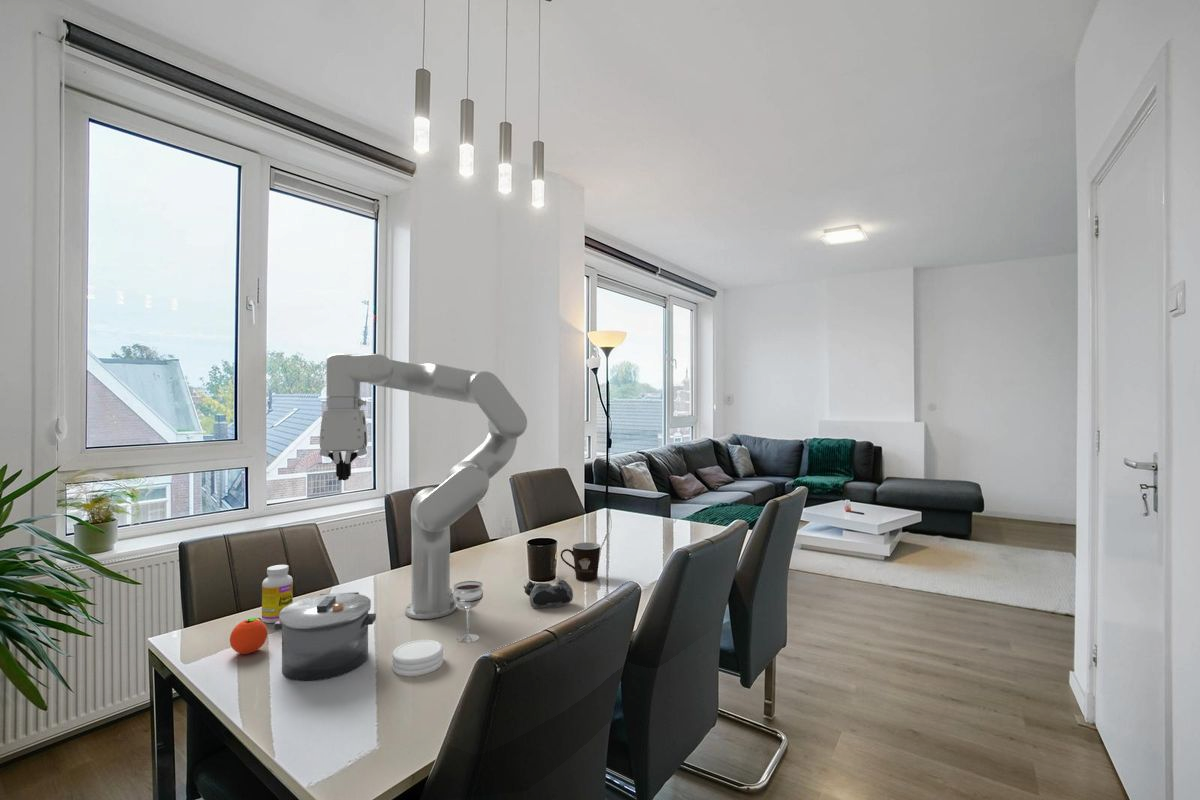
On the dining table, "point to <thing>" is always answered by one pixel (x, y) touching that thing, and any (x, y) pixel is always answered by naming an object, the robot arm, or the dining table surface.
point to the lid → (325, 610)
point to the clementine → (248, 636)
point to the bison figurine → (549, 594)
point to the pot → (324, 649)
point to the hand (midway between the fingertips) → (343, 479)
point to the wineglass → (468, 603)
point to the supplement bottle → (276, 592)
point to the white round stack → (417, 657)
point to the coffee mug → (585, 560)
